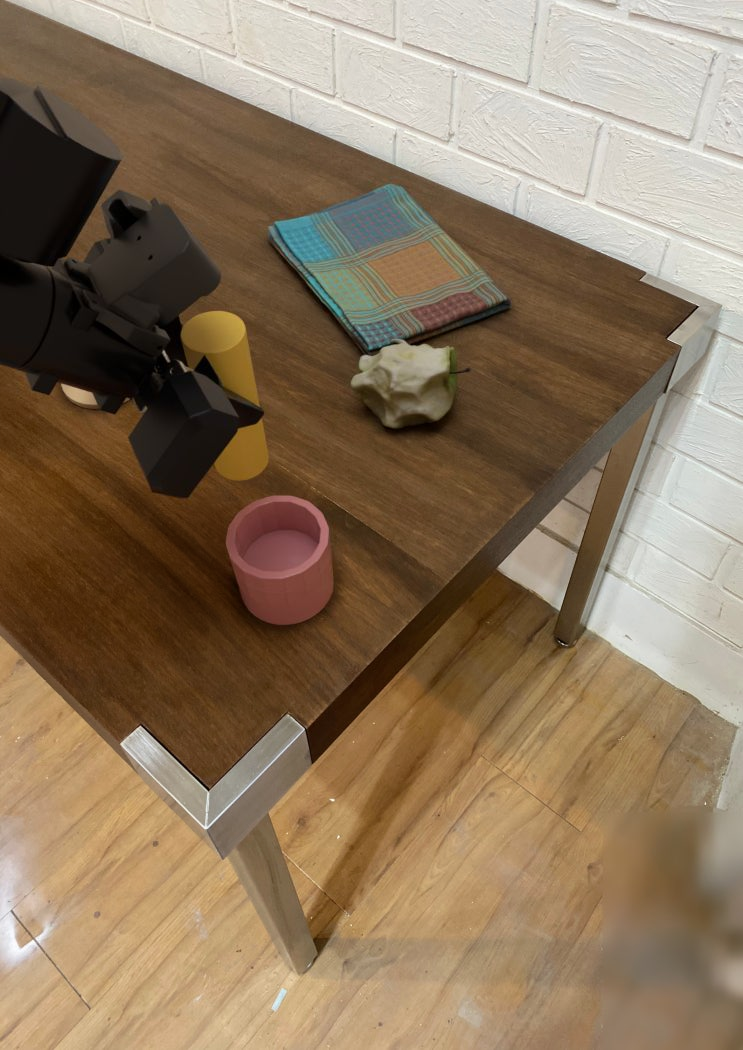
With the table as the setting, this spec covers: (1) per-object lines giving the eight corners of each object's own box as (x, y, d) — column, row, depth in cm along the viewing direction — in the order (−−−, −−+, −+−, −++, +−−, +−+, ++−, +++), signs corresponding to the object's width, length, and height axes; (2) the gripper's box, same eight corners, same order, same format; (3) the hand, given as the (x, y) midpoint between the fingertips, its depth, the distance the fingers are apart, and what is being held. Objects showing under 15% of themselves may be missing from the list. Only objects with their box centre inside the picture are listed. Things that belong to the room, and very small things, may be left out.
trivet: (69, 418, 71) (66, 414, 70) (58, 363, 75) (55, 358, 75) (155, 395, 72) (154, 391, 72) (139, 342, 77) (138, 337, 76)
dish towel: (400, 197, 91) (400, 177, 89) (514, 308, 79) (517, 287, 77) (266, 241, 87) (263, 220, 85) (365, 366, 74) (365, 345, 72)
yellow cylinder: (229, 489, 56) (196, 361, 46) (205, 454, 58) (169, 325, 48) (278, 466, 57) (256, 337, 47) (253, 432, 59) (228, 302, 49)
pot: (254, 638, 57) (241, 591, 52) (230, 562, 61) (215, 512, 56) (346, 607, 59) (342, 559, 53) (316, 534, 63) (310, 483, 57)
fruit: (474, 408, 73) (490, 355, 65) (401, 464, 70) (409, 415, 62) (407, 346, 75) (415, 288, 68) (334, 398, 72) (334, 344, 65)
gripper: (161, 290, 33) (386, 392, 45) (52, 107, 43) (260, 230, 55) (43, 476, 38) (277, 524, 49) (-32, 270, 47) (178, 351, 59)
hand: (248, 397), depth 53 cm, fingers closed on yellow cylinder, 4 cm apart
